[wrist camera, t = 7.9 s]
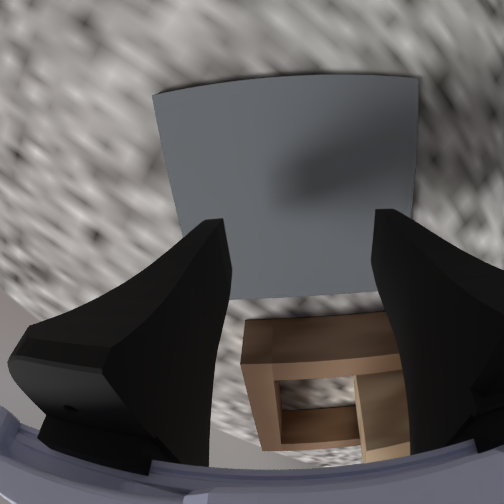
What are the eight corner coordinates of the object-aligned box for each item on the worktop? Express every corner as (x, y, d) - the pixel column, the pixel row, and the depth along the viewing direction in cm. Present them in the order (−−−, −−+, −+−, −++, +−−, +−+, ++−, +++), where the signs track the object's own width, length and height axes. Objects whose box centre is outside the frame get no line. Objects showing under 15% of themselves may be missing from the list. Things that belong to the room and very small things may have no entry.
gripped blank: (427, 327, 17) (461, 425, 12) (416, 386, 21) (435, 465, 15) (350, 345, 18) (366, 451, 13) (355, 399, 22) (364, 482, 16)
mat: (413, 77, 10) (418, 78, 10) (395, 282, 15) (398, 289, 15) (156, 93, 11) (152, 95, 11) (201, 294, 17) (200, 300, 16)
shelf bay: (494, 297, 16) (514, 331, 13) (441, 399, 22) (449, 427, 20) (245, 320, 17) (240, 364, 15) (264, 419, 24) (262, 450, 22)
